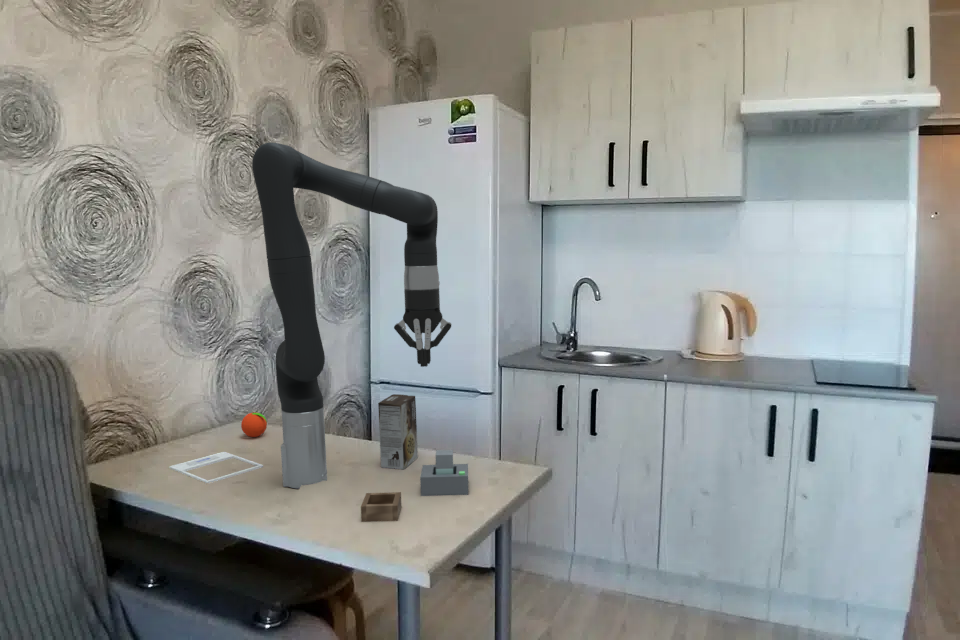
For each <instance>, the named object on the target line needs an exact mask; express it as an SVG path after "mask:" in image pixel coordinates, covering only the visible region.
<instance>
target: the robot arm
mask: <svg viewBox="0 0 960 640" xmlns="http://www.w3.org/2000/svg"><path fill="white" fill-rule="evenodd" d="M251 161H252V162H251V167H252V175H253V178H254V182H255V186H256V190H257V191H256V192H257V196H258V201H259V204H260V210H261V217H262V226H263V233H264V242H265V252H266V262H267V271H268V277H269V282H270V286H271V289H272V292H273V296H274V298H275V301H276V303H277V306H278V309H279V312H280V314H281V318H282V319H281V320H282V323H283V333H284V340H283V341H282V342H281V343H280V344H279V345H278V347H277V349H276V353H275V374H276V375H275V376H276V385H277V386H276V388H277V394H278V398H279V400H280V409H281V422H282V423H281V424H282V444H281V445H280V456H281V458H280V459H281V473H282V474H281V475H282V487H284V488H285V487H287V488H288V487H289V488H292V489H300V488H301V487H302V486H309V485H314V484H318V483H321V482H323V481H325V482H326V481H328V468H327V450H326V449H327V447H326V432H325V429H326V428H325V411H324V397H323V394H322V391H321V389H320V386H319V382H318V380H319V379H318V377H319V376H320V375H321V373H322V372H323V369H324V366H325V362H326V355H325V350H324V347H323V341H322V338H321V332H320V328H319V323H318V319H317V318H318V317H317V312H316V311H317V310H316V295H315V286H314V277H313V276H314V275H313V272H314V271H313V262H312V256H311V250H310V245H309V242H308V239H307V236H306V234H305V231H304V229H303V226H302V223H301V221H300V219H299V216H298V212H297V209H296V202H295V191H294V190H295V189H298V190H299V189H301V190H307V191H313V192H315V193H320V194H324V195H326V196H329V197H331V198H333V199H335V200H338V201H340V202H343V203H345V204H348V205H350V206H353V207H355V208H359V209H361V210H364V211H368V212H370V213H374V214H378V215H383V216H386V217H389V218H392V219H394V220H395V221H399V222H402V223H405V224H406V240H405V242H404V246H403V250H404V253H403V256H404V270H403V271H404V272H403V288H404V291H403V292H404V314H403V316H402V320H400V321H399V322H398V323H396V324H394V327H393V329H394V331H395V332H396V333H397V334H398V335H399V336H400V338H401V339H402V340H403V341H404V342H405V343H406V344H407V346H408V347H410V348H414V349H415V350H416V358H417V360H416V362H417V364H418V365H420V367H422V368H423V367H425V368H426V367H428V366H429V365H430V363H431V361H432V360H431V359H432V358H431V354H432V353H431V349H432V348H434V347H438V346H439V344H440V343H441V342H442V341H443V340H444V338H445V336H446V335H447V334H448V332H449V331H450V330H451V328H452V322H449V321H447V320H446V319H444V318H443V313H442V312H441V306H440V303H441V302H440V301H441V298H440V284H441V283H440V274H439V268H438V249H437V236H438V235H437V234H438V221H439V218H438V217H439V216H438V215H439V214H438V213H439V211H438V205H437V202H436V201H435V199H434V198H433V197H432V196H430V195H429V194H426V193H423V192H420V191H416V190H412V189H409V188H405V187H401V186H395V185H393V184H392V183H389V182H387V181H384V180H382V179H378V178H376V177H372V176H368V175H365V174H362V173H358V172H353V171H350V170H345V169H342V168H337V167H334V166H331V165H329V164H325V163H324V162H321V161H318V160H316V159H314V158H312V157H310V156H308V155H306V154H304V153H303V152H301V151H298V150H296V149H295V148H294V147H292V146H290V145H289V144H288V145H287V144H284V143H283V144H282V143H278V142H272V141H271V142H265V143H263V144H261V145H260V146H258V148H257V149H256V150H255V151H254V154H253V155H252V160H251ZM439 325H440V326H439ZM438 326H439V328H440V331H439V332H438V334H437V335H436V337H435V338H434V339H433V340H432V333H434V331H436V328H438ZM407 327H408V329H409V330H410V331H411V332H412V333H413V334H414V337H415V340H414V339H413V338H412V337H411V336H410V334H409V333H408V332H407ZM423 334H424V340H423ZM423 341H424V343H423Z"/></svg>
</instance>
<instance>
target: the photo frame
mask: <svg viewBox="0 0 960 640" xmlns="http://www.w3.org/2000/svg"><path fill="white" fill-rule="evenodd" d="M230 459H236V461H237V460H238V461H241V462H243V463H246V464H248V465H253V466H252V467H248V468H245V469H242V470H239V471H238V470H237V471H235V472H232V473H229V474H226V475H221V476H218V477H215V478H211V479H209V480H207V479H205V478H203V477H200V476H198V475H196V474H193V473H191V472H189V471H191V470H194V469H195V470H196V469H199V468H202V467H205V466H209V465H212V464H216V463H220V462H223V461H227V460H230ZM169 468H170V469H169ZM261 468H264V465H263V464H261V463H258V462H256V461H252V460H250V459H247V458H244V457H241V456H238V455H236V454H232V453H231V452H230V453H229V452H226V451H221V452H218V453H214V454H210V455H207V456H203V457H199V458H195V459H192V460H191V459H190V460H188V461H185V462H180V463H176V464H173V465H170V466H168V469H169V470H172V471H174V470H175V471H174V472H176V471H178V472H177V473H179V472H180V473H179V474H181V473H182V475H184V474H185V475H184V476H186V475H187V476H186V477H189V476H190V477H189V478H191V477H192V478H191V479H193V478H194V479H193V480H196V479H197V480H196V481H198V480H200V481H199V482H201V481H203V482H205V483H204V484H206V483H209V484H211V483H210V482H212V483H215V482H214V481H216V482H218V480H219V481H222V480H224V479H228V478H232V477H235V476H238V475H241V474H244V473H248V472H252V471H255V470H258V469H261ZM203 482H202V483H203Z"/></svg>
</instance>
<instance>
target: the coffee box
mask: <svg viewBox="0 0 960 640" xmlns="http://www.w3.org/2000/svg"><path fill="white" fill-rule="evenodd" d="M416 401H417V400H416V395H407V394H391V395H390V396H388V397H386V398H384V399H383V400H381V401H378V425H379V426H378V427H379V428H378V429H379V448H380V449H379V451H380V452H379V453H380V454H379V455H380V467H381V468H382V469H394V468H395V470H397V469H398V470H405V469H407V467H409V466H410V465H411V464H412V463H413V462H415V461H416V459H418V457H419V455H418V451H419V450H418V431H417V429H418V428H417V427H418V426H417V407H416Z"/></svg>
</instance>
